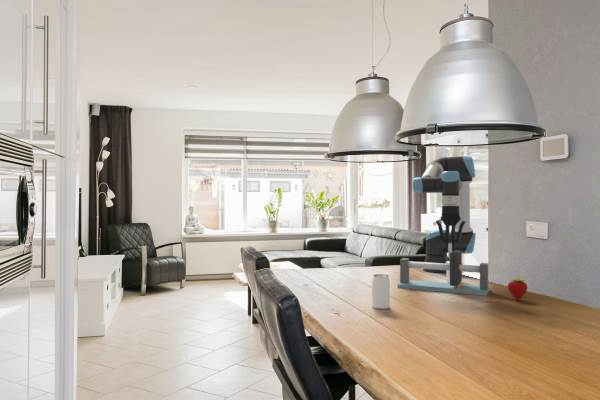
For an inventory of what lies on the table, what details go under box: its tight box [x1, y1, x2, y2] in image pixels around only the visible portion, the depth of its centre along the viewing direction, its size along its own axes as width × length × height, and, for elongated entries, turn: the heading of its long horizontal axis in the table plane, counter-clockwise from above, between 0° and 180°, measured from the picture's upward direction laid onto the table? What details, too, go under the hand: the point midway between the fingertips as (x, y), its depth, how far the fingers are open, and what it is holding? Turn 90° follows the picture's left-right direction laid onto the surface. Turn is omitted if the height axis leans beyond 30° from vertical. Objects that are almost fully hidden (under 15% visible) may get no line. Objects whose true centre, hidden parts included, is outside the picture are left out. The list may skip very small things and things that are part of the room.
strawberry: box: [507, 274, 528, 301], centre depth 182 cm, size 6×8×10 cm
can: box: [371, 273, 391, 310], centre depth 170 cm, size 6×6×12 cm
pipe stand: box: [397, 257, 490, 296], centre depth 206 cm, size 38×14×12 cm, turn 62°
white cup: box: [445, 260, 464, 284], centre depth 222 cm, size 8×8×10 cm
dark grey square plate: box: [449, 250, 463, 286], centre depth 203 cm, size 3×14×14 cm, turn 152°
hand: (450, 257), depth 204 cm, fingers closed
